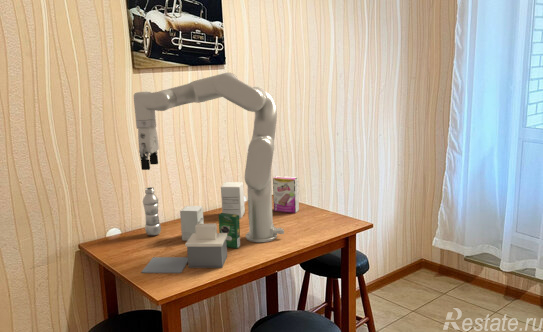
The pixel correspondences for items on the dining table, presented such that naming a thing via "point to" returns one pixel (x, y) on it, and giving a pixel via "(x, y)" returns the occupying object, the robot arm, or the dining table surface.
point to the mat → (166, 265)
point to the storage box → (207, 256)
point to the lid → (206, 236)
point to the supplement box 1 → (190, 220)
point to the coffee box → (230, 229)
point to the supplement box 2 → (233, 198)
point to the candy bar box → (286, 194)
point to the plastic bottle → (151, 212)
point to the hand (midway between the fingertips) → (150, 166)
